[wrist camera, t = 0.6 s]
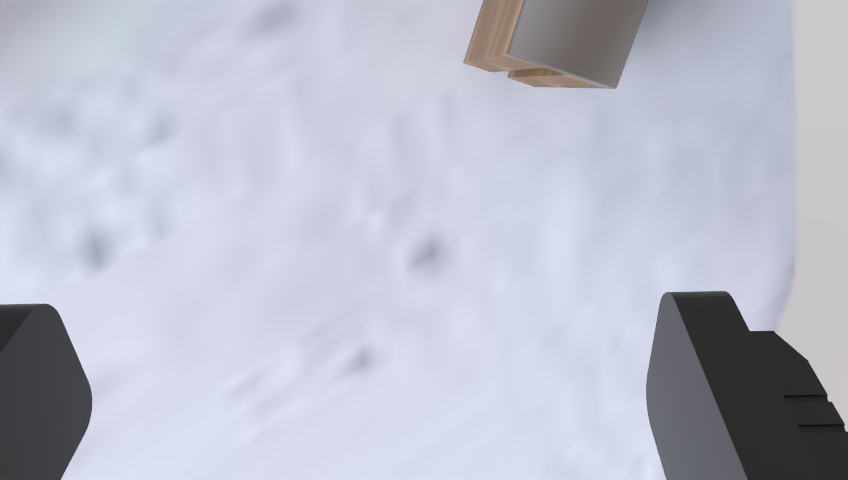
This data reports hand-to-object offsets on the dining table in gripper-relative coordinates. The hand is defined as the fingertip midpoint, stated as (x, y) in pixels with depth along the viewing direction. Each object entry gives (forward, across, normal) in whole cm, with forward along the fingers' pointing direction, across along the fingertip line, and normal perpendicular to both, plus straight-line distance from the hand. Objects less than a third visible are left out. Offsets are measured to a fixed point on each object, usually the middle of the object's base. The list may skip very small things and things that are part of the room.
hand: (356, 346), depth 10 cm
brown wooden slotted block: (+26, -4, +5) cm, 27 cm away
